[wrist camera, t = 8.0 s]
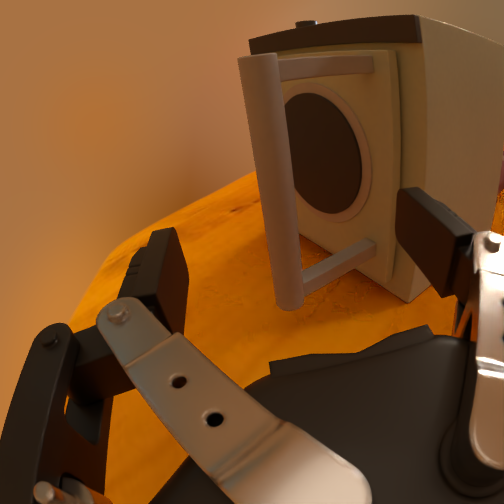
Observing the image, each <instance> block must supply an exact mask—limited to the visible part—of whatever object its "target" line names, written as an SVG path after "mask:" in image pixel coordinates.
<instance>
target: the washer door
mask: <svg viewBox="0 0 504 504" xmlns="http://www.w3.org/2000/svg"><path fill="white" fill-rule="evenodd" d="M238 65H239V70H240V77H241V83H242V89H243V95H244V100H245V106H246V112H247V118H248V124H249V130H250V136H251V142H252V148H253V155H254V161H255V167H256V173H257V179H258V186H259V192H260V198H261V205H262V211H263V218H264V224H265V231H266V237H267V244H268V250H269V257H270V264H271V270H272V277H273V284H274V291H275V297H276V304H277V306H278V307H279V308H280V309H282V310H285V311H293V310H297V309H299V308H300V307H301V306H302V305H303V303H304V297H305V296H307V295H309V294H310V293H312V292H314V291H316V290H318V289H319V288H321V287H323V286H325V285H326V284H328V283H330V282H332V281H334V280H335V279H337V278H339V277H340V276H342V275H344V274H346V273H347V272H349V271H351V270H353V269H354V268H356V267H359V268H361V269H362V270H364V271H366V272H367V273H369V274H370V275H372V276H373V277H375V278H376V279H378V280H380V281H381V282H383V283H384V284H385V283H387V282H388V281H390V280H391V279H392V273H393V265H394V256H395V247H396V235H395V215H396V198H397V192H398V190H399V189H400V163H401V129H400V99H399V82H398V69H397V58H396V51H394V50H347V51H328V52H315V53H304V54H294V55H286V56H278V57H277V54H276V53H266V54H257V55H250V56H244V57H240V58H238ZM299 230H300V231H302V232H303V233H305V234H306V235H308V236H310V237H311V238H313V239H315V240H316V241H318V242H319V243H321V244H323V245H324V246H326V247H328V248H329V249H331V250H332V251H334V252H336V254H334V255H332V256H330V257H328V258H326V259H324V260H322V261H320V262H318V263H316V264H315V265H313V266H311V267H309V268H307V269H305V270H303V271H302V263H301V252H300V240H299Z"/></svg>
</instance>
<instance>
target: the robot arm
mask: <svg viewBox="0 0 504 504" xmlns="http://www.w3.org/2000/svg"><path fill="white" fill-rule="evenodd" d="M395 235H396V238H397V241H398V243H399V244H400V245H401V246H402V248H403V249H404V250H405V251H406V253H407V254H408V255H409V256H410V258H411V259H412V260H413V261H414V263H415V264H416V265H417V266H418V268H419V269H420V270H421V271H422V273H423V274H424V275H425V277H426V278H427V279H428V281H429V282H430V283H431V284H432V286H433V287H434V288H435V290H436V291H437V293H438V294H439V295H440V297H441V298H444V297H448V296H451V295H454V294H455V295H456V297H457V302H456V305H455V313H454V321H453V328H452V334H451V336H447V335H433V333H432V331H431V330H430V328H429V326H428V325H427V324H426V325H423V326H420V327H416V328H413V329H410V330H406V331H403V332H399V333H396V334H393V335H391V336H389V337H387V338H385V339H383V340H381V341H380V342H378V343H376V344H374V345H372V346H370V347H368V348H366V349H364V350H362V351H360V352H357V353H339V354H308V355H303V356H298V357H293V358H287V359H282V360H276V361H271V362H269V367H270V373H271V374H270V375H267V376H265V377H262V378H261V379H259V380H257V381H255V382H253V383H252V384H250V385H249V386H247V387H245V388H244V389H242V388H241V387H239V386H238V385H237V384H236V383H235V382H234V381H233V380H231V379H230V378H229V377H228V376H227V375H226V374H225V373H223V372H222V371H221V370H220V369H219V368H218V367H217V366H216V365H214V364H213V363H212V362H211V361H210V360H209V359H208V358H207V357H206V356H204V355H203V354H202V353H201V352H200V351H199V350H198V349H197V348H196V347H195V346H194V345H193V344H192V343H191V342H189V341H188V340H187V339H186V338H185V337H184V325H185V315H186V305H187V296H188V287H189V273H188V268H187V264H186V261H185V258H184V255H183V251H182V248H181V245H180V242H179V238H178V235H177V232H176V230H175V228H174V227H171V228H166V229H161V230H156V231H153V232H152V234H151V236H150V239H149V242H148V245H147V247H142V248H140V249H139V250H138V251H137V252H136V253H135V255H134V256H133V257H132V259H131V261H130V264H129V268H128V269H127V272H126V276H125V277H124V280H123V283H122V286H121V288H120V291H119V294H118V297H117V299H116V300H114V301H112V302H110V303H109V304H107V305H106V306H105V307H104V308H103V309H102V310H101V311H100V312H99V314H98V316H97V318H96V325H94V326H92V327H90V328H87V329H84V330H82V331H79V332H77V333H74V334H73V332H72V331H71V329H70V328H69V326H68V325H66V324H64V323H56V324H52V325H50V326H48V327H46V328H44V329H43V330H42V331H41V332H40V333H39V334H38V335H37V336H36V338H35V339H34V341H33V343H32V346H31V348H30V351H29V353H28V356H27V358H26V361H25V364H24V366H23V369H22V371H21V374H20V377H19V380H18V383H17V386H16V389H15V392H14V394H13V397H12V401H11V404H10V407H9V410H8V413H7V417H6V420H5V424H4V427H3V431H2V435H1V439H0V504H113V503H112V502H111V501H110V500H109V499H108V498H107V497H106V496H104V492H105V474H106V461H107V449H108V439H109V430H110V421H111V413H112V405H113V398H114V396H115V395H118V394H121V393H124V392H127V391H130V390H133V389H135V388H137V390H138V391H139V392H140V394H141V395H142V397H143V398H144V399H145V401H146V402H147V403H148V405H149V406H150V407H151V409H152V410H153V411H154V413H155V414H156V415H157V417H158V418H159V419H160V420H161V422H162V423H163V424H164V425H165V427H166V428H167V429H168V430H169V432H170V433H171V434H172V435H173V437H174V438H175V439H176V440H177V441H178V443H179V444H180V445H181V446H182V447H183V449H184V450H185V451H186V452H187V453H188V454H189V455H188V457H187V458H186V459H185V460H184V462H183V463H182V464H181V465H180V467H179V468H178V469H177V470H176V471H175V473H174V474H173V475H172V476H171V478H170V479H169V480H168V481H167V482H166V484H165V485H164V486H163V487H162V488H161V489H160V491H159V492H158V493H157V494H156V495H155V497H154V498H153V499H152V500H151V501H150V502H149V503H148V504H504V237H503V236H502V235H500V234H497V233H495V232H491V231H480V232H477V231H476V230H474V229H473V228H472V227H471V226H470V225H469V224H468V223H466V222H465V221H464V220H463V219H462V218H461V217H458V215H457V214H456V213H455V212H453V211H451V209H450V208H449V207H447V206H446V205H445V204H444V203H442V202H440V201H438V200H436V199H433V198H432V197H431V196H430V195H428V194H427V193H426V192H425V191H423V190H422V189H421V188H419V187H410V188H402V189H399V190H398V192H397V198H396V215H395ZM67 396H68V397H69V400H68V404H67V409H66V413H65V414H64V406H65V401H66V397H67Z"/></svg>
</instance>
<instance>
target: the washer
mask: <svg viewBox="0 0 504 504" xmlns="http://www.w3.org/2000/svg"><path fill="white" fill-rule="evenodd" d="M295 24H296V28H295V29H290V30H285V31H281V32H277V33H273V34H269V35H264V36H260V37H256V38H253V39H249V46H250V52H251V55H257V54H266V53H276V54H277V57H278V56H286V55H294V54H304V53H315V52H328V51H347V50H394V51H396V58H397V69H398V82H399V99H400V129H401V163H400V189H402V188H410V187H419V188H421V189H422V190H423V191H425V192H426V193H427V194H428V195H430V196H431V197H432V198H433V199H436V200H438V201H440V202H442V203H444V204H445V205H446V206H447V207H449V208H450V209H451V211H453V212H455V213H456V214H457V215H458V217H461V218H462V219H463V220H464V221H465V222H466V223H468V224H469V225H470V226H471V227H472V228H473V229H474V230H476V231H477V232H480V231H490V230H491V225H492V221H493V216H494V211H495V205H496V200H497V194H498V188H499V181H500V174H501V166H502V157H503V147H504V45H501V44H499V43H497V42H495V41H492V40H490V39H488V38H485V37H482V36H480V35H478V34H475V33H472V32H470V31H467V30H464V29H461V28H459V27H456V26H453V25H450V24H446V23H444V22H440V21H437V20H434V19H430V18H427V17H423V16H420V15H393V16H378V17H367V18H357V19H350V20H341V21H335V22H328V23H322V24H317V21H300V22H296V23H295ZM299 234H301V235H303V236H304V237H306V238H307V239H309V240H311V241H312V242H314V243H315V244H317V245H319V246H320V247H322V248H323V249H325V250H327V251H328V252H330V253H331V254H333V255H334V254H336V252H334V251H332V250H331V249H329V248H328V247H326V246H324V245H323V244H321V243H319V242H318V241H316V240H315V239H313V238H311V237H310V236H308V235H306V234H305V233H303V232H302V231H300V230H299ZM355 269H356V270H358V271H359V272H361V273H362V274H364V275H365V276H367V277H369V278H370V279H372V280H373V281H375V282H376V283H378V284H379V285H381V286H382V287H384V288H385V289H387V290H388V291H390V292H391V293H393V294H394V295H396V296H397V297H399V298H400V299H402V300H403V301H405V302H406V303H409V302H411V301H412V300H413V299H414V298H416V297H417V296H418V295H419V294H421V293H422V292H423V291H424V290H425V289H427V288H428V287H429V286H430V285H431V283H430V282H429V281H428V279H427V278H426V277H425V275H424V274H423V273H422V271H421V270H420V269H419V268H418V266H417V265H416V264H415V263H414V261H413V260H412V259H411V258H410V256H409V255H408V254H407V253H406V251H405V250H404V249H403V248H402V246H401V245H400V244H399V243H398V241H397V238H396V247H395V256H394V265H393V273H392V279H391V280H390V281H388V282H387V283H385V284H384V283H383V282H381V281H380V280H378V279H376V278H375V277H373V276H372V275H370V274H369V273H367V272H366V271H364V270H362V269H361V268H359V267H356V268H355Z"/></svg>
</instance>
